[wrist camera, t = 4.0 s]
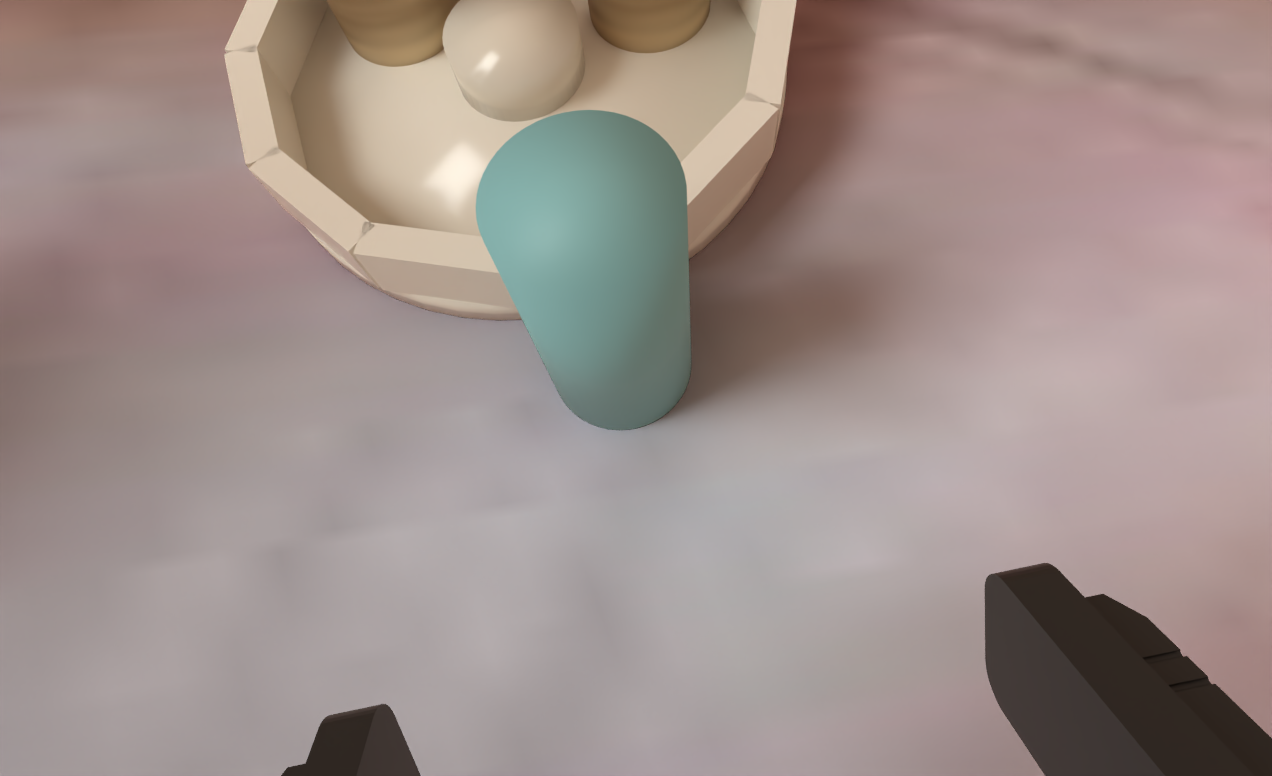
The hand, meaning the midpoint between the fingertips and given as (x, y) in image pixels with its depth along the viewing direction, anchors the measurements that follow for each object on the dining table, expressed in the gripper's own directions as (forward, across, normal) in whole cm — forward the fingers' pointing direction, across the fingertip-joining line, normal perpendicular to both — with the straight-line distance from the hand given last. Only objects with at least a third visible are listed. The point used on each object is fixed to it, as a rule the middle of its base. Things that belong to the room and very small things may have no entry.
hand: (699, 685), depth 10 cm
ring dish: (+26, -2, +7) cm, 27 cm away
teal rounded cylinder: (+17, 0, -2) cm, 17 cm away
